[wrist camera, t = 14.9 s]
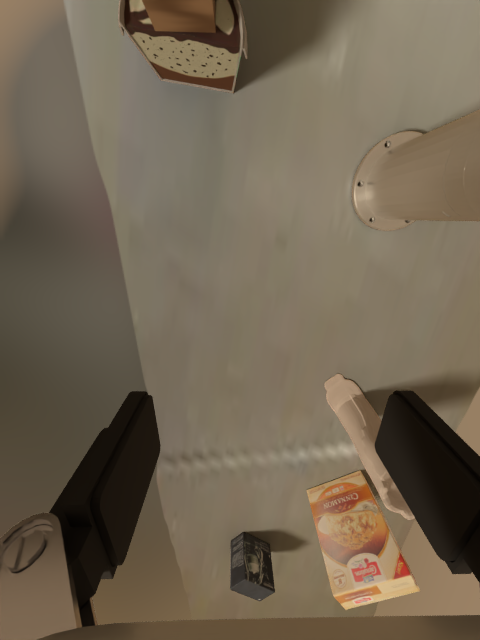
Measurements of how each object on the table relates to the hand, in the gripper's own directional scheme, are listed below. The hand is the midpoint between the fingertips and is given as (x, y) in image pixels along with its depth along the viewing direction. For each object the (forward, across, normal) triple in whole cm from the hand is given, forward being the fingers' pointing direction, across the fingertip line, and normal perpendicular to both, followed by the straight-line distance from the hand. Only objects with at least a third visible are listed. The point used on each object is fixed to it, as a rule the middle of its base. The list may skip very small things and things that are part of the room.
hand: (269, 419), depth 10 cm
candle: (+34, -22, +28) cm, 49 cm away
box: (+34, -3, +82) cm, 89 cm away
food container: (+34, +6, -26) cm, 43 cm away
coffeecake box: (+34, -25, +57) cm, 71 cm away
